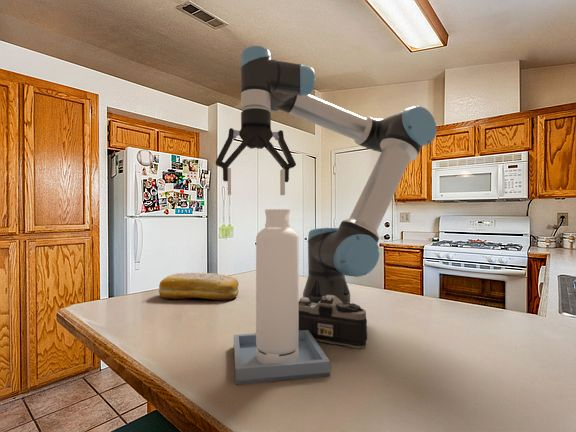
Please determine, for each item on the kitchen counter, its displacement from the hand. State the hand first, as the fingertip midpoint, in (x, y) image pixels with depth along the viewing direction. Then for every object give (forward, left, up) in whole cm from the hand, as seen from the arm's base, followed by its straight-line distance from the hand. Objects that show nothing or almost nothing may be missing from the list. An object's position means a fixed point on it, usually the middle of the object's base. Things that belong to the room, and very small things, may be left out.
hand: (256, 194), depth 86 cm
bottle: (-2, +23, -32) cm, 40 cm away
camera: (-16, +14, -33) cm, 39 cm away
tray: (-2, +23, -33) cm, 40 cm away
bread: (+17, -31, -33) cm, 48 cm away
